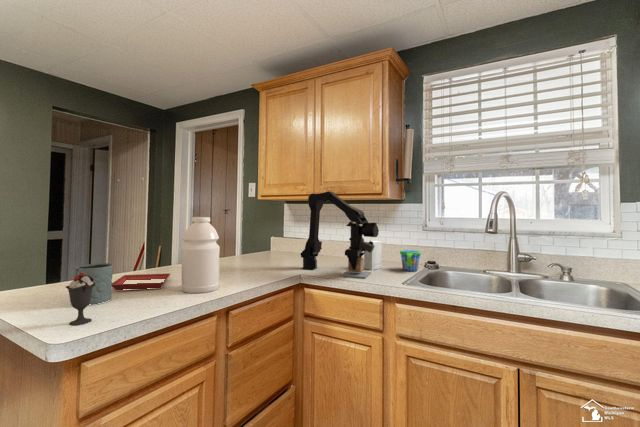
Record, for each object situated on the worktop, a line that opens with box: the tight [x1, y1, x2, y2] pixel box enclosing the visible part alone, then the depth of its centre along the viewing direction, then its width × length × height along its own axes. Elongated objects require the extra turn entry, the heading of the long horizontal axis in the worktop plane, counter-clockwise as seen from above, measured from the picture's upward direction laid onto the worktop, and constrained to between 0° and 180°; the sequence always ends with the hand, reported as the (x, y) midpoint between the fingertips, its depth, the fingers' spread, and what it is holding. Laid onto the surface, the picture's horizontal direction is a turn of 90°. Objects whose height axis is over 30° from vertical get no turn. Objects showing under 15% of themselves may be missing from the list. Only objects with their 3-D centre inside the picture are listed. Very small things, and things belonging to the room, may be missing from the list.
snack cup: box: [399, 249, 422, 272], centre depth 164 cm, size 16×10×10 cm
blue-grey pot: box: [75, 262, 114, 305], centre depth 104 cm, size 10×10×12 cm
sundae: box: [65, 268, 96, 326], centre depth 85 cm, size 7×7×15 cm
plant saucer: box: [111, 273, 171, 291], centre depth 126 cm, size 18×18×3 cm
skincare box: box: [363, 240, 383, 271], centre depth 167 cm, size 8×6×15 cm
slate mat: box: [339, 269, 372, 280], centre depth 150 cm, size 12×12×1 cm
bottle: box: [180, 216, 221, 294], centre depth 122 cm, size 14×14×28 cm
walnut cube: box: [347, 257, 364, 273], centre depth 150 cm, size 6×6×6 cm
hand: (355, 268), depth 150 cm, fingers open, 6 cm apart
